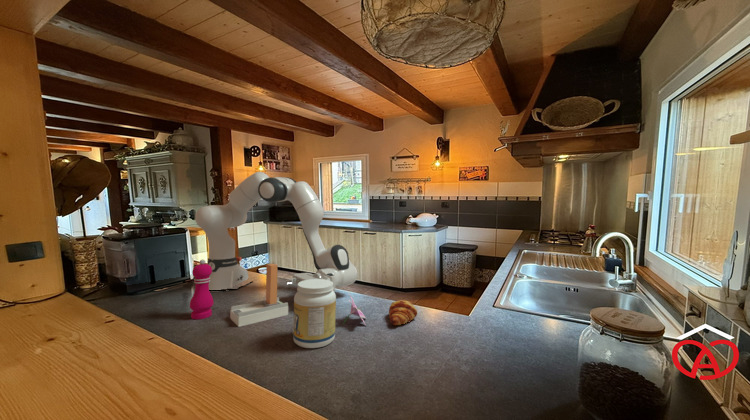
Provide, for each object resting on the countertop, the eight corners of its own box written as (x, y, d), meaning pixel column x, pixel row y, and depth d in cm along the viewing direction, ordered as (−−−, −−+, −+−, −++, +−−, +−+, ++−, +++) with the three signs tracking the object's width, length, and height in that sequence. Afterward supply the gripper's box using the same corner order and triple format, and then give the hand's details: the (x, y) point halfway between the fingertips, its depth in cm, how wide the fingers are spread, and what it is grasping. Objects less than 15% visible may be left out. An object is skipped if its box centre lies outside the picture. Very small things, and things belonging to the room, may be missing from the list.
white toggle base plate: (277, 307, 112) (277, 297, 112) (288, 314, 105) (288, 303, 105) (230, 318, 100) (230, 306, 100) (238, 326, 94) (238, 314, 94)
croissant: (402, 316, 116) (393, 297, 117) (425, 307, 113) (415, 288, 114) (386, 337, 96) (376, 314, 97) (413, 327, 93) (402, 303, 94)
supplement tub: (290, 334, 89) (291, 279, 89) (329, 328, 94) (330, 276, 94) (296, 353, 78) (297, 290, 78) (339, 345, 83) (341, 286, 82)
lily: (356, 337, 91) (371, 309, 92) (326, 317, 95) (341, 290, 96) (366, 333, 102) (379, 308, 103) (339, 315, 106) (352, 292, 107)
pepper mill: (194, 321, 97) (195, 262, 97) (185, 316, 101) (186, 259, 101) (217, 315, 103) (218, 259, 102) (207, 311, 107) (208, 257, 107)
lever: (273, 301, 109) (274, 262, 109) (280, 305, 105) (280, 265, 104) (262, 303, 106) (263, 263, 106) (269, 308, 102) (269, 266, 102)
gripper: (310, 268, 128) (280, 272, 118) (337, 276, 112) (305, 282, 103) (310, 282, 128) (280, 287, 118) (337, 293, 112) (304, 300, 103)
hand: (292, 285), depth 111 cm, fingers open, 8 cm apart
